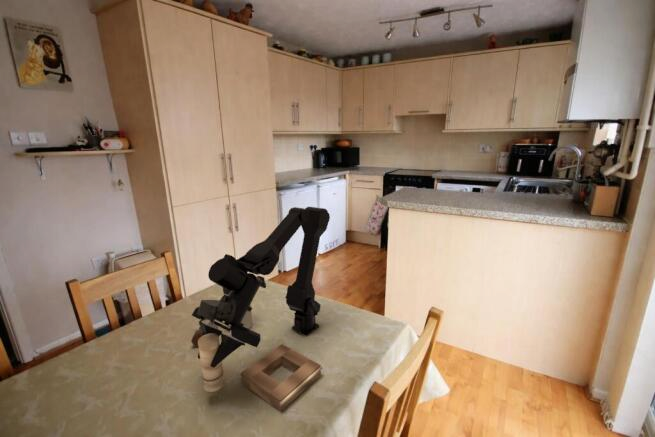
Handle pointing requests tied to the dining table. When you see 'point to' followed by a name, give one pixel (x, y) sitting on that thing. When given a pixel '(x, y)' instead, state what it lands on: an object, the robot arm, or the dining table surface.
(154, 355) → the dining table surface
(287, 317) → the dining table surface
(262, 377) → the socket board
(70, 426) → the dining table surface
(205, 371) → the peg
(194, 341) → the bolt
